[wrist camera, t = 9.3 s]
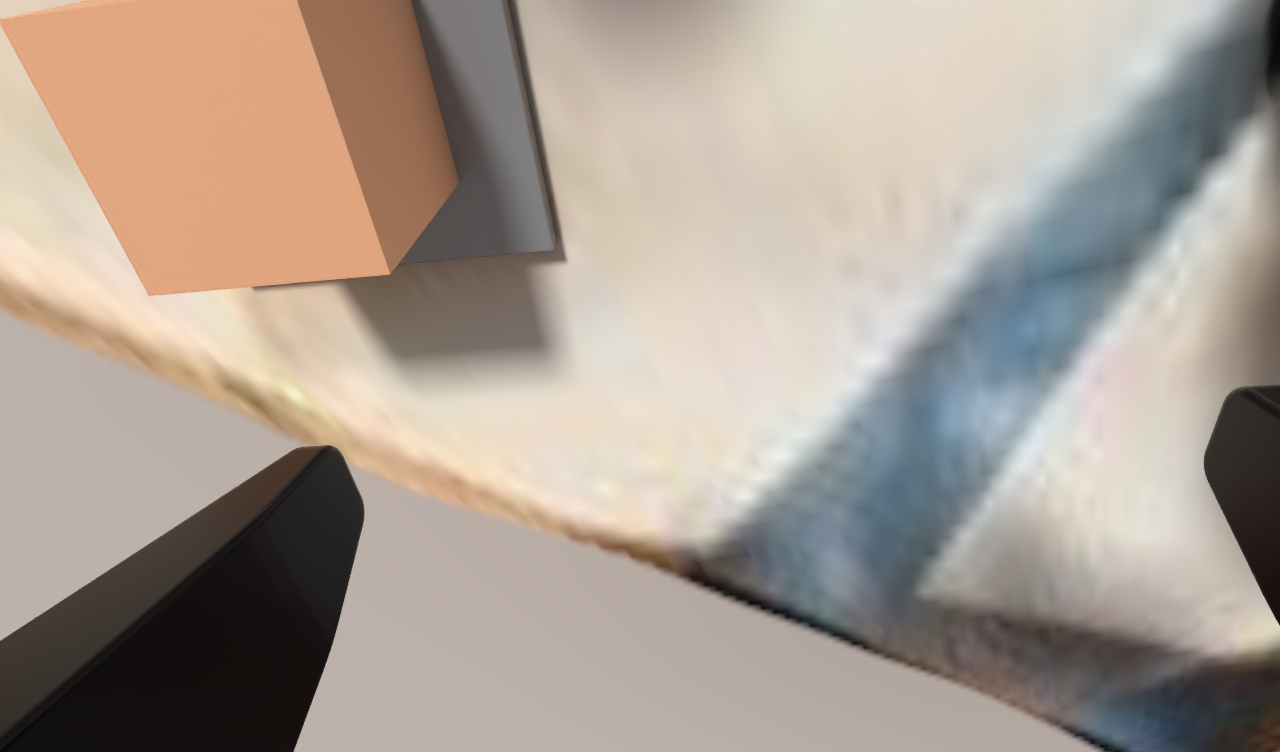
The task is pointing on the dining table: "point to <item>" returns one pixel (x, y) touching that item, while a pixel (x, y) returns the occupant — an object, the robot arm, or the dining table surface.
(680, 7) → the dining table surface
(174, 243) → the cube
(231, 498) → the robot arm
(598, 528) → the dining table surface
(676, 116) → the dining table surface
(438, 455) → the dining table surface
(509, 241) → the coaster
